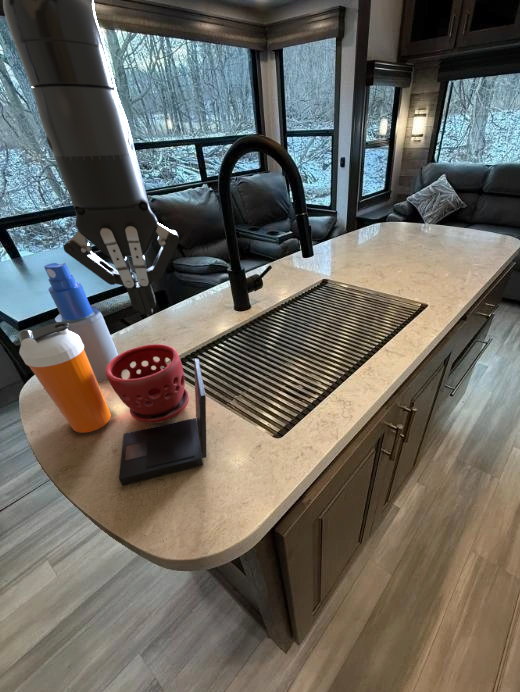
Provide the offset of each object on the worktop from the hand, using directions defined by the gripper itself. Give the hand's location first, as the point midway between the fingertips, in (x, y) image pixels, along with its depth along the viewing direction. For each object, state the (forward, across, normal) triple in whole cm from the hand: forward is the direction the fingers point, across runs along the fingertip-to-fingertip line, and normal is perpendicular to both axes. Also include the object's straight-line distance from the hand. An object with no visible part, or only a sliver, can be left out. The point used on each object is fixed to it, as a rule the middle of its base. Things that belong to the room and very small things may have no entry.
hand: (146, 312), depth 44 cm
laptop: (+26, +5, 0) cm, 26 cm away
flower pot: (+26, +5, -13) cm, 30 cm away
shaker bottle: (+26, +18, -14) cm, 35 cm away
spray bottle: (+26, +18, -33) cm, 46 cm away
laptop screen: (+18, -3, 0) cm, 18 cm away
